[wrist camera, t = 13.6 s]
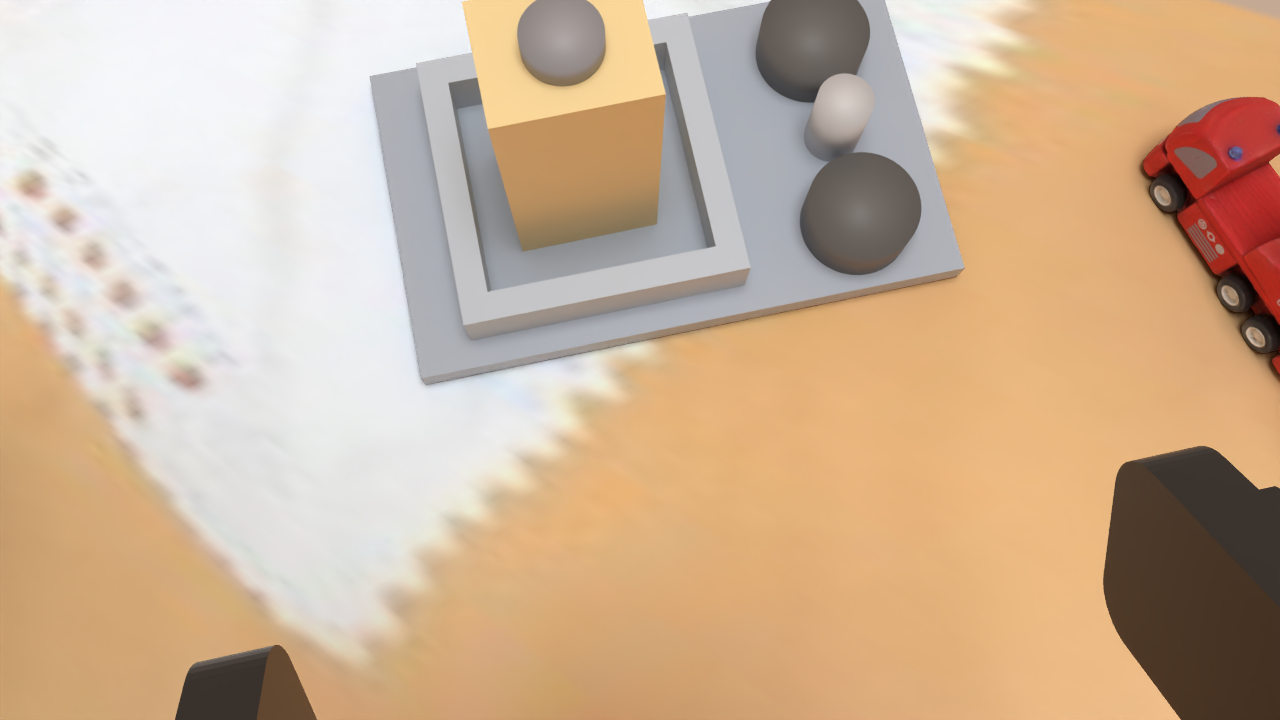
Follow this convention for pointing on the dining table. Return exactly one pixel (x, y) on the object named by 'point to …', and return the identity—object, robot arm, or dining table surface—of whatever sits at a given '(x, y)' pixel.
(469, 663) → the dining table surface
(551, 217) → the tan knobbed block
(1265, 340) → the toy fire truck
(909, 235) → the grey insertion tray
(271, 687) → the robot arm
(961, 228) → the dining table surface
